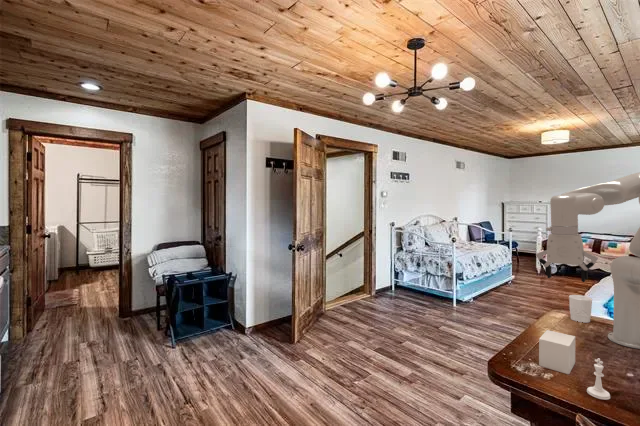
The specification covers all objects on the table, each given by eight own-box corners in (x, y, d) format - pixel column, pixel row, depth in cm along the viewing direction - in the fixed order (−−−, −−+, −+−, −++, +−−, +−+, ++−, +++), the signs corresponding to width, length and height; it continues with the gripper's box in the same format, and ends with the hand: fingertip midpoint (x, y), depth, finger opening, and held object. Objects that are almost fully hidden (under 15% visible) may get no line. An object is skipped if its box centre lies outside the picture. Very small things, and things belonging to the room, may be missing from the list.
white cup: (596, 323, 139) (596, 300, 139) (574, 322, 141) (575, 299, 140) (585, 317, 147) (585, 295, 146) (565, 316, 148) (565, 294, 148)
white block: (546, 355, 113) (546, 329, 113) (575, 362, 107) (575, 336, 107) (539, 365, 106) (539, 338, 106) (568, 374, 101) (569, 346, 100)
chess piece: (603, 401, 87) (604, 364, 87) (582, 391, 92) (583, 356, 91) (614, 396, 89) (614, 360, 89) (593, 387, 94) (593, 352, 93)
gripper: (532, 231, 118) (534, 278, 118) (595, 232, 105) (597, 285, 106) (537, 228, 123) (539, 274, 124) (598, 229, 111) (599, 280, 112)
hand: (566, 279), depth 115 cm, fingers open, 9 cm apart
